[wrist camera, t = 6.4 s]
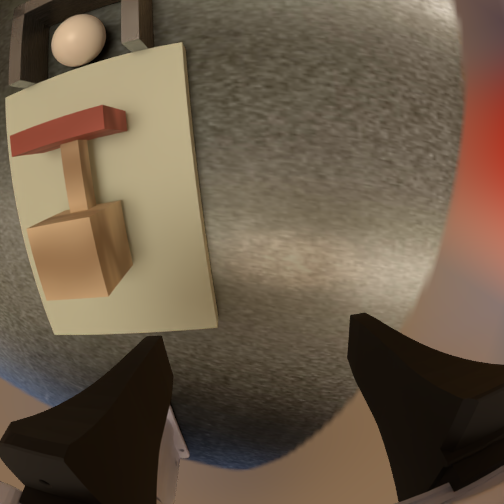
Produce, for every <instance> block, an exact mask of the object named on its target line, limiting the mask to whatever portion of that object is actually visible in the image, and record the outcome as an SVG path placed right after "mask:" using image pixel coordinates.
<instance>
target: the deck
mask: <svg viewBox="0 0 504 504" xmlns="http://www.w3.org/2000/svg"><path fill="white" fill-rule="evenodd" d="M99 105H106V106H109V107H113V108H117V109H120V110H124V111H126V122H127V131H125V132H121V133H116V134H112V135H108V136H103V137H99V138H95V139H91V140H87V144H88V152H89V160H90V168H91V175H92V181H93V188H94V194H95V200H96V204H102V203H107V202H113V201H119V200H121V206H122V211H123V217H124V222H125V228H126V233H127V238H128V243H129V248H130V252H131V257H132V262H133V266H132V267H131V268H130V269H129V271H128V272H127V273H126V274H125V276H124V277H123V278H122V280H121V281H120V282H119V283H118V285H117V286H116V287H115V289H114V290H113V291H112V293H111V294H110V295H109V297H96V298H82V299H66V300H50V301H47V300H46V297H45V294H44V291H43V288H42V285H41V282H40V278H39V275H38V272H37V268H36V265H35V261H34V258H33V254H32V250H31V246H30V242H29V238H28V234H27V228H29V227H31V226H33V225H35V224H37V223H39V222H41V221H43V220H45V219H48V218H50V217H52V216H54V215H56V214H58V213H60V212H63V211H65V210H70V208H69V203H68V197H67V191H66V185H65V179H64V172H63V165H62V157H61V149H60V148H58V149H55V150H52V151H48V152H45V153H39V154H31V155H23V156H16V157H12V154H11V144H10V136H11V135H13V134H15V133H18V132H20V131H23V130H26V129H28V128H31V127H34V126H36V125H39V124H42V123H45V122H47V121H50V120H53V119H56V118H59V117H62V116H65V115H69V114H72V113H75V112H78V111H82V110H85V109H89V108H92V107H96V106H99ZM6 124H7V139H8V150H9V159H10V167H11V175H12V181H13V188H14V194H15V199H16V205H17V210H18V215H19V220H20V224H21V229H22V233H23V237H24V242H25V246H26V249H27V253H28V257H29V261H30V264H31V268H32V271H33V274H34V278H35V281H36V284H37V287H38V290H39V293H40V296H41V299H42V302H43V305H44V308H45V311H46V314H47V316H48V319H49V322H50V324H51V327H52V329H53V332H54V334H55V335H89V334H124V333H147V332H164V331H180V330H194V329H206V328H217V327H218V311H217V305H216V298H215V292H214V286H213V279H212V273H211V266H210V260H209V253H208V246H207V239H206V232H205V224H204V217H203V210H202V202H201V194H200V186H199V178H198V170H197V161H196V153H195V144H194V135H193V125H192V115H191V105H190V95H189V84H188V72H187V60H186V49H185V47H184V45H183V43H182V42H181V43H175V44H170V45H164V46H159V47H154V48H150V49H145V50H141V51H136V52H132V53H128V54H124V55H120V56H117V57H113V58H109V59H106V60H103V61H99V62H96V63H93V64H89V65H86V66H83V67H80V68H77V69H74V70H71V71H69V72H66V73H63V74H60V75H58V76H55V77H52V78H50V79H47V80H45V81H42V82H40V83H38V84H35V85H33V86H30V87H28V88H26V89H24V90H21V91H19V92H17V93H15V94H13V95H11V96H9V97H7V98H6Z"/></svg>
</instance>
